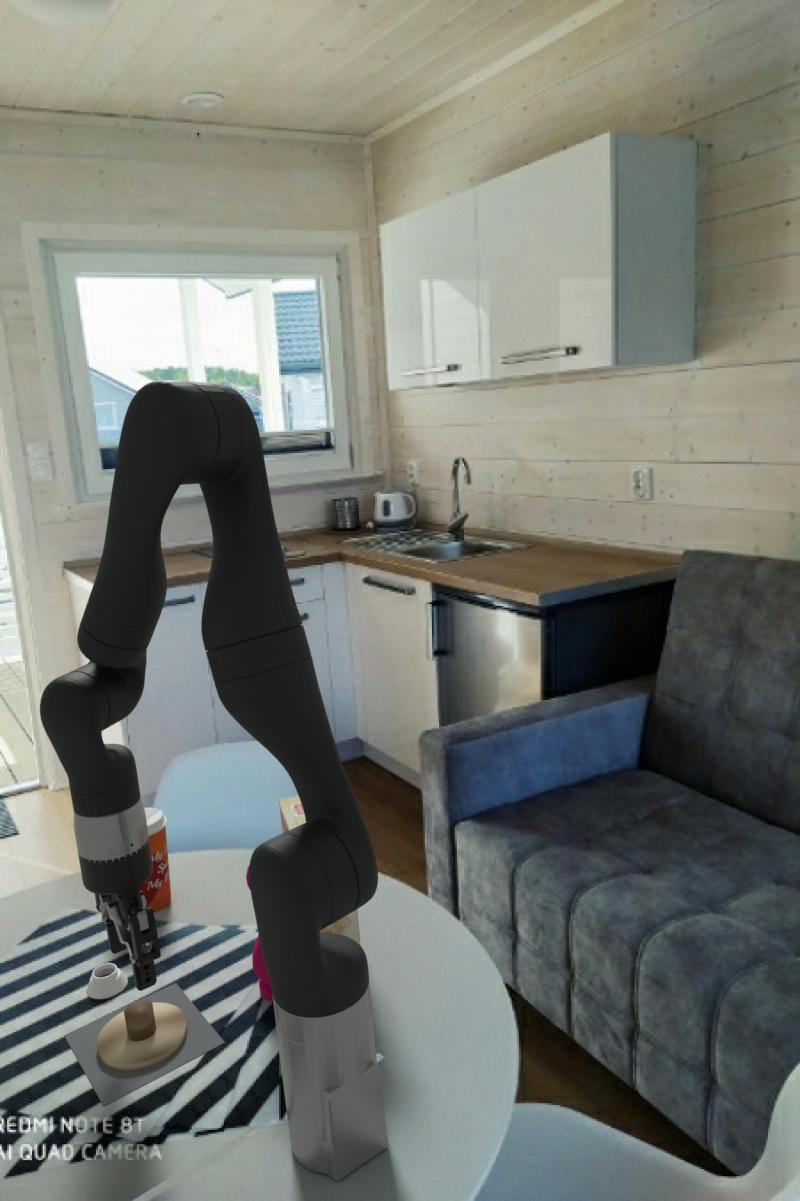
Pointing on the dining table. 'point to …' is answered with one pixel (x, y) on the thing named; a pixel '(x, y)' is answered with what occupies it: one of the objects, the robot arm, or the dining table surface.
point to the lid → (141, 1035)
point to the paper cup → (157, 862)
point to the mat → (121, 1083)
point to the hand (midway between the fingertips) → (133, 967)
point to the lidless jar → (106, 981)
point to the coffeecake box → (295, 817)
